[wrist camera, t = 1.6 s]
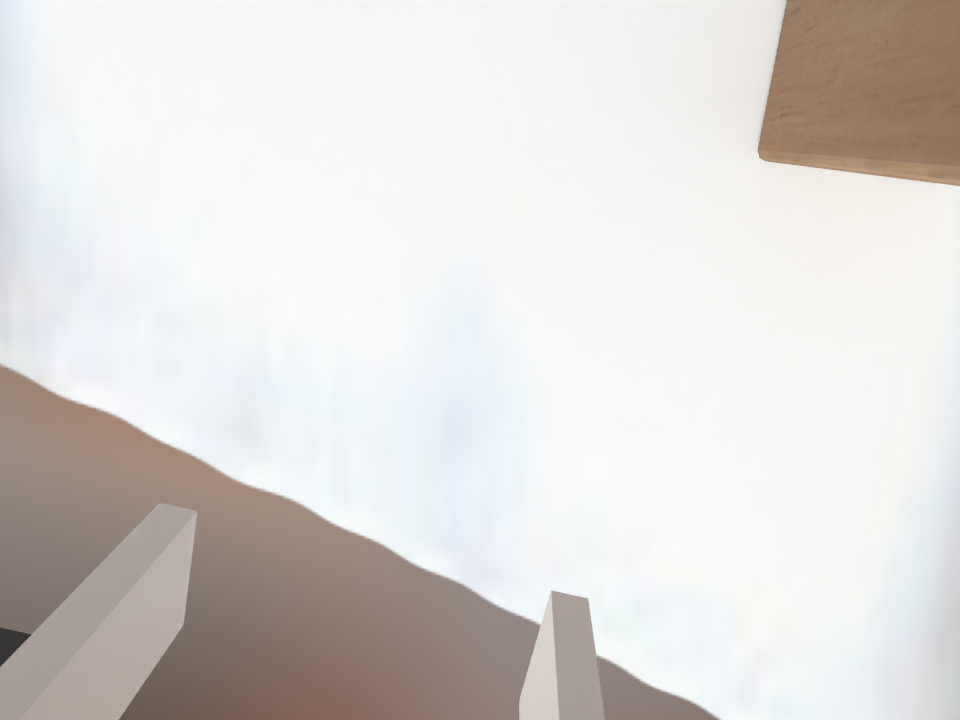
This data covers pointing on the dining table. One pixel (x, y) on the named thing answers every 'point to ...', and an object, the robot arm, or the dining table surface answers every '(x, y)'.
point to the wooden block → (867, 89)
